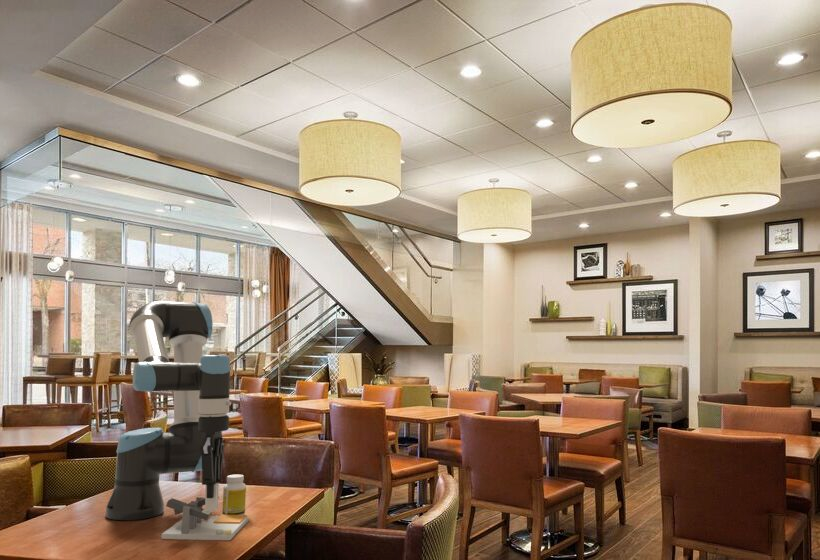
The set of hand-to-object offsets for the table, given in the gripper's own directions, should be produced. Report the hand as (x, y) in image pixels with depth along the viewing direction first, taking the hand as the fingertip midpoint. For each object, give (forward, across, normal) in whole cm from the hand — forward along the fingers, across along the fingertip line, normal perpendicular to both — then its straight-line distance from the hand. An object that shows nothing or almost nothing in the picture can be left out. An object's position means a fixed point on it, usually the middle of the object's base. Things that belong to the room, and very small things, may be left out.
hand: (211, 510), depth 154 cm
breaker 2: (0, +6, +6) cm, 8 cm away
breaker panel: (+6, +6, +3) cm, 10 cm away
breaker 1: (0, 0, +6) cm, 6 cm away
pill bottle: (+6, +20, 0) cm, 21 cm away
